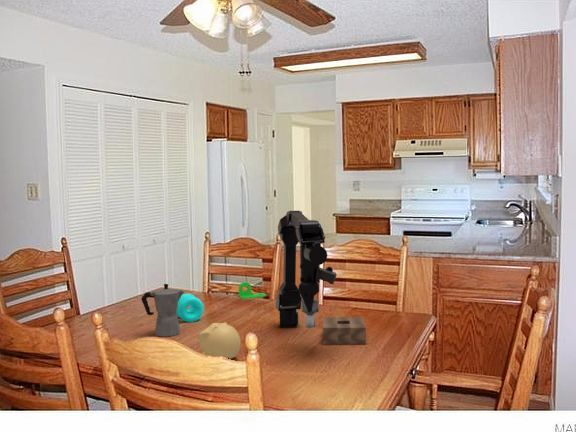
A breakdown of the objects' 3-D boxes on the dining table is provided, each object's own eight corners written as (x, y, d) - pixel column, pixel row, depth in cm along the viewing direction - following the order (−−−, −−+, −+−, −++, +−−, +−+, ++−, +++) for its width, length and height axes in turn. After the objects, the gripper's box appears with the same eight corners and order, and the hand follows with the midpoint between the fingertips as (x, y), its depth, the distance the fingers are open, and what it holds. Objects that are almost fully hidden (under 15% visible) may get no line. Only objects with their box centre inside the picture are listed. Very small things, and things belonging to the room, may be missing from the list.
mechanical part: (242, 301, 250) (241, 284, 250) (239, 299, 256) (238, 282, 256) (267, 299, 254) (267, 282, 254) (263, 297, 260) (263, 280, 259)
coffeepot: (182, 327, 206) (180, 280, 205) (189, 333, 197) (187, 284, 196) (140, 333, 199) (138, 284, 198) (145, 340, 191) (143, 288, 190)
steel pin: (301, 329, 172) (301, 302, 172) (302, 324, 178) (301, 298, 177) (318, 328, 172) (318, 302, 172) (319, 324, 177) (318, 298, 177)
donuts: (197, 316, 224) (196, 291, 223) (204, 321, 215) (204, 296, 214) (173, 319, 220) (172, 294, 219) (179, 324, 211) (178, 298, 210)
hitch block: (323, 344, 181) (322, 327, 181) (323, 332, 195) (322, 317, 195) (366, 344, 180) (365, 327, 180) (363, 332, 194) (362, 317, 194)
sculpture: (216, 350, 177) (215, 316, 177) (247, 355, 171) (246, 320, 171) (193, 360, 167) (192, 325, 167) (225, 366, 161) (224, 329, 161)
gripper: (335, 264, 164) (336, 316, 165) (334, 256, 182) (335, 302, 183) (297, 265, 165) (299, 316, 166) (300, 256, 183) (301, 303, 184)
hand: (310, 309), depth 175 cm, fingers closed on steel pin, 5 cm apart
